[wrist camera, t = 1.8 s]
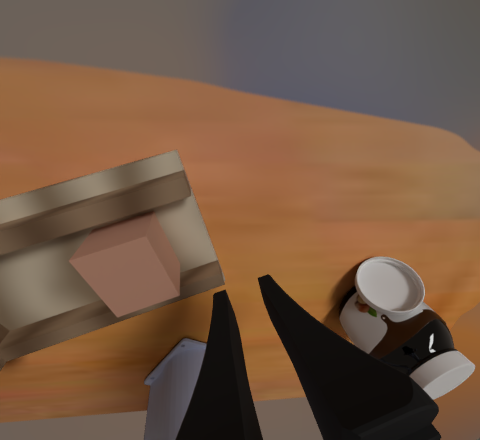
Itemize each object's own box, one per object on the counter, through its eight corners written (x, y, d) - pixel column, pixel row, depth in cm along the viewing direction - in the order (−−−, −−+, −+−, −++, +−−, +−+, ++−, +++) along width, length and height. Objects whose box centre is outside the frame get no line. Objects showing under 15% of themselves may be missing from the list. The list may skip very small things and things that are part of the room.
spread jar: (347, 324, 34) (416, 414, 24) (309, 301, 29) (377, 402, 19) (408, 276, 32) (512, 352, 22) (379, 240, 26) (498, 320, 16)
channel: (176, 149, 16) (174, 162, 12) (224, 276, 23) (232, 311, 19) (-143, 240, 14) (-271, 291, 10) (16, 349, 21) (-23, 405, 17)
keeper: (153, 211, 17) (145, 236, 14) (180, 263, 20) (179, 295, 17) (92, 230, 17) (68, 261, 13) (128, 281, 20) (117, 317, 16)
